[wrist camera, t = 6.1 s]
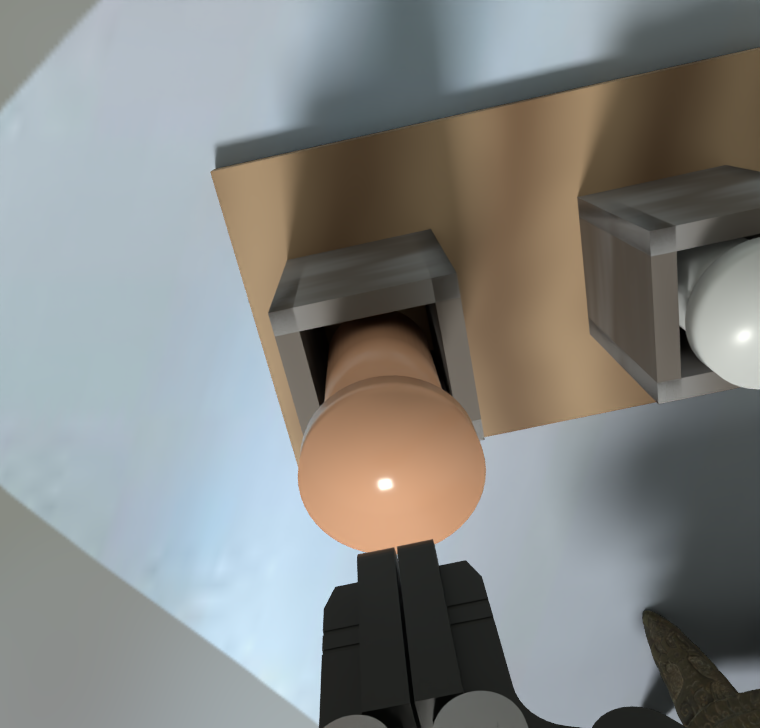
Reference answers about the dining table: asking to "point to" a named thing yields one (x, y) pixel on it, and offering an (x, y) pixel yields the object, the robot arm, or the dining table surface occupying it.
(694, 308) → the white bulb-shaped plug
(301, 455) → the terracotta plug
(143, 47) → the dining table surface
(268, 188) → the board
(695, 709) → the vessel
